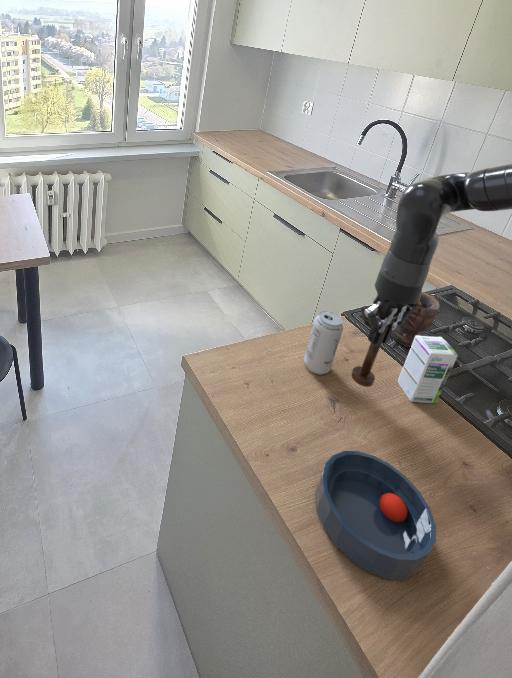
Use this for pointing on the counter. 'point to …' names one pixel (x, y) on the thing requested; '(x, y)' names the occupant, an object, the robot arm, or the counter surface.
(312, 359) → the energy drink can
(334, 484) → the bowl
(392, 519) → the ball
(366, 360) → the brown wooden pestle
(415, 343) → the syrup box
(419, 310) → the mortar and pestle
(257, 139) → the counter surface
